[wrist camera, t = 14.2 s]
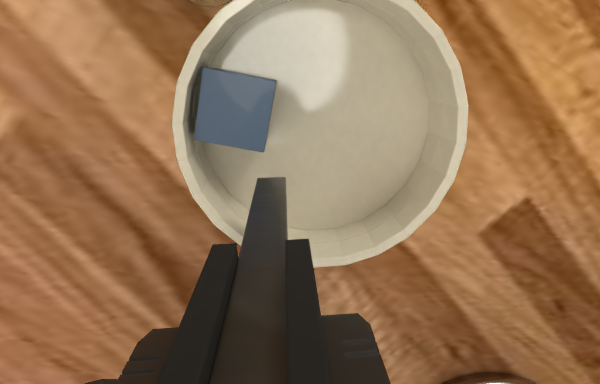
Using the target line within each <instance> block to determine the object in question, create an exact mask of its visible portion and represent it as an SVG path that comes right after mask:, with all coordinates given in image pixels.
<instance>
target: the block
mask: <svg viewBox="0 0 600 384" xmlns="http://www.w3.org/2000/svg"><path fill="white" fill-rule="evenodd" d="M276 84H277V80H274V79H269V78H264V77H259V76H254V75H249V74H243V73H238V72H233V71H228V70H223V69H218V68H206V67H203V68H202V77H201V85H200V93H199V102H198V110H197V118H196V127H195V135H194V140H196V141H202V142H207V143H213V144H219V145H224V146H230V147H235V148H241V149H246V150H252V151H258V152H264V151H265V147H266V142H267V137H268V131H269V125H270V119H271V113H272V107H273V101H274V96H275V90H276Z"/></svg>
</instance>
